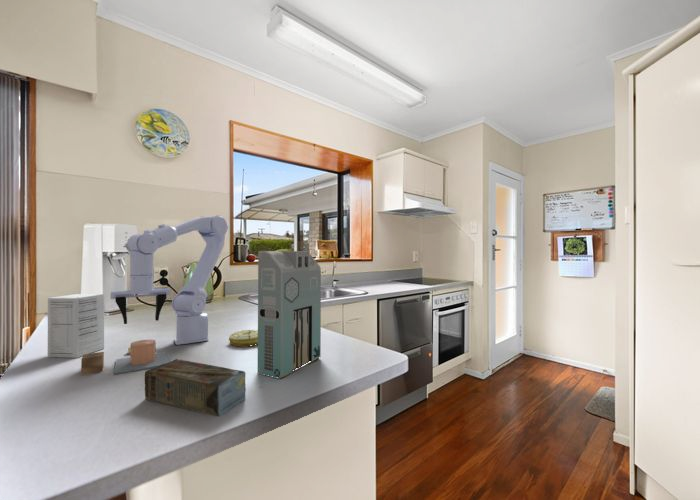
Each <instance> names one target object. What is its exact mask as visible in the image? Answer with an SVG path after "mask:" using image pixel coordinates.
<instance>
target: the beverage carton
mask: <svg viewBox="0 0 700 500" xmlns="http://www.w3.org/2000/svg"><path fill="white" fill-rule="evenodd" d="M246 391H247V389H246V372H245V371H243V370H238V369H232V368H229V367H222V366H218V365H212V364H207V363H201V362H196V361H190V360H186V359H185V360H183V359H177V358H176V359H173V360H170V362H168V363H166V364H162V365H160V366H158V367H155V368H150V369H146V370H145V371H144V399H145V400H148V401H151V402H156V403H161V404H164V405H168V406H172V407H176V408H181V409H185V410H189V411H193V412H198V413H201V414H207V415H211V416H216V417H220V416H222V415H223V414H225V413H226V412H227V411H229V410H231V409H233V408H234V407H235V406H237V405H238V404H240V403H241V402H243V401H244V400H246V393H247V392H246Z"/></svg>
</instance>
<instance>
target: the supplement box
mask: <svg viewBox="0 0 700 500" xmlns="http://www.w3.org/2000/svg"><path fill="white" fill-rule="evenodd" d="M104 349H105V294H104V293H75V294H69V295H68V294H67V295H60V296H53V297H52V296H51V297H47V358H70V359H76V358H79V357H80V358H81V357H83V355H84V354H91V353H96V352H99V351H100V350H104Z"/></svg>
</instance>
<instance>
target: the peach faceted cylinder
mask: <svg viewBox="0 0 700 500" xmlns="http://www.w3.org/2000/svg"><path fill="white" fill-rule="evenodd" d="M156 344H157V343H156V340H155V339H141V340H136V341H133V342H131V343H130V347H131V351H130V354H129V355H130V356H129V357H130V364H132V365H141V364H147V363H150V362H153V361H155V356H156V353H157V352H156Z"/></svg>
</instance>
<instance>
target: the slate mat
mask: <svg viewBox="0 0 700 500" xmlns="http://www.w3.org/2000/svg"><path fill="white" fill-rule="evenodd" d="M168 362H171V359H170V357H169V353H168V351H164V352H163V351H162V352H156V356H155V361H153V362H150V363H147V364H141V365H132V364H130V356H129V357H122V358H116V361H115V365H114V366H115V367H114V370H113V375H114V376H115V375H120V374H126V373H132V372H138V371H144V370H150V369H152V368H155V367H158V366H160V365H162V364H166V363H168Z"/></svg>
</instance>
